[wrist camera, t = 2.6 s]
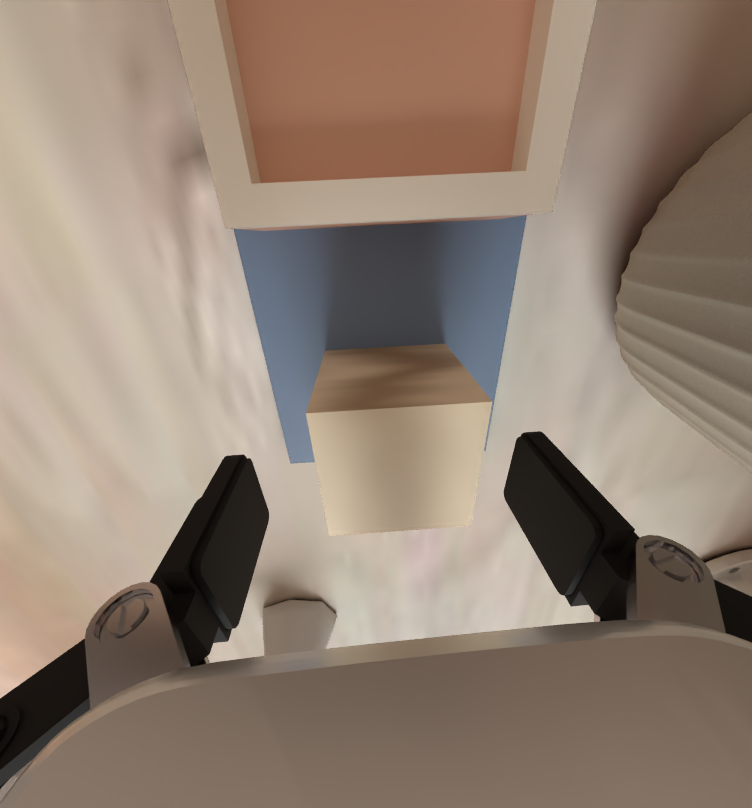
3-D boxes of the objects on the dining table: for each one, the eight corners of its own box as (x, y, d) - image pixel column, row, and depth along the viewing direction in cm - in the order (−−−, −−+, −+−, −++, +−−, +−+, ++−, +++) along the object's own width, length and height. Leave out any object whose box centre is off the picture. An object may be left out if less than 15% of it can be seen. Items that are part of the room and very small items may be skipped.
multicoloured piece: (580, -193, 8) (825, -669, 4) (479, 440, 19) (515, 500, 15) (147, -184, 8) (-104, -681, 4) (293, 453, 19) (273, 517, 15)
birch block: (445, 343, 15) (492, 401, 10) (438, 440, 18) (471, 525, 12) (324, 350, 15) (305, 413, 9) (338, 447, 18) (328, 535, 12)
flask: (251, 600, 27) (200, 774, 18) (330, 591, 27) (316, 761, 18) (274, 637, 31) (240, 797, 22) (343, 630, 30) (337, 787, 22)
